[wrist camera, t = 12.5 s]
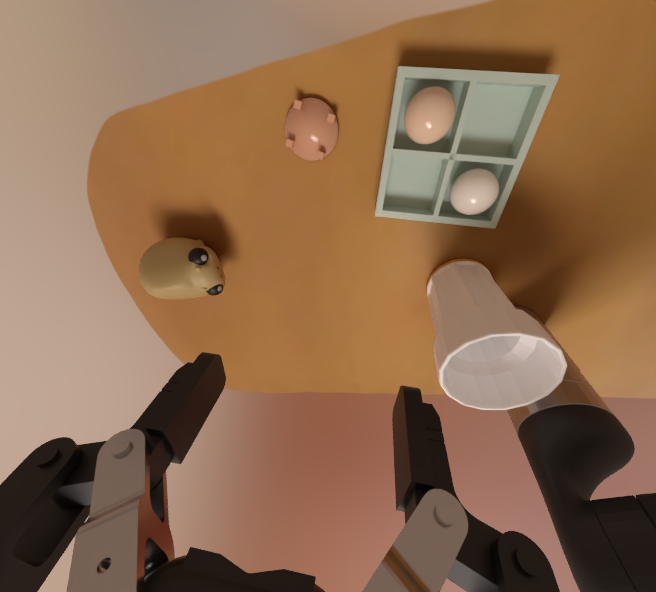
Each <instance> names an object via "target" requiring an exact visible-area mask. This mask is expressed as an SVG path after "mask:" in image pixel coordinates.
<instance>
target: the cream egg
mask: <svg viewBox="0 0 656 592" xmlns="http://www.w3.org/2000/svg"><path fill="white" fill-rule="evenodd" d="M498 193H499V182H498V180H497V178H496V176H495V175H494V174H493V173H492V172H490V171H489V170H486V169H482V168H475V169H470V170H468V171H466V172H464V173H462V174H461V175H460V176H459V177H458V178H457V179H456V180H455V181H454V183H453V185H452V187H451V190H450V201H451V204H452V206H453V207H454V208H455V209H456V210H457V211H458V212H460V213H462V214H466V215H475V214H479V213H482V212H484V211H485V210H487V209H488V208H489V207H491V206H492V204H493V203H494V202H495V200H496V199H497V196H498Z"/></svg>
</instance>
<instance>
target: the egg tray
mask: <svg viewBox="0 0 656 592" xmlns="http://www.w3.org/2000/svg"><path fill="white" fill-rule="evenodd" d="M559 76H560V75H553V74H535V73H516V72H498V71H480V70H461V69H443V68H425V67H407V66H398V68H397V72H396V78H395V85H394V91H393V97H392V104H391V110H390V117H389V123H388V129H387V136H386V142H385V149H384V155H383V162H382V168H381V174H380V181H379V187H378V194H377V200H376V207H375V216H380V217H389V218H398V219H408V220H417V221H426V222H436V223H445V224H454V225H464V226H473V227H482V228H492V229H495V228H496V226H497V224H498V221H499V219H500V216H501V214H502V212H503V209H504V207H505V205H506V202H507V200H508V197H509V195H510V193H511V190H512V188H513V185H514V183H515V181H516V178H517V176H518V174H519V171H520V169H521V166H522V164H523V162H524V159H525V157H526V154H527V152H528V150H529V147H530V145H531V143H532V140H533V138H534V135H535V133H536V131H537V128H538V126H539V123H540V121H541V119H542V116H543V114H544V112H545V109H546V107H547V104H548V102H549V100H550V97H551V95H552V92H553V90H554V88H555V85H556V83H557V81H558V78H559ZM431 86H439V87H442V88H445V89H446V90H448V91H449V92H450V93H451V95H452V96H453V99H454V101H455V106H456V113H455V119H454V122H453V124H452V126H451V128H450V130H449V131H448V132H447V133H446V135H445V136H444V137H442V138H441V139H440V140H438V141H436V142H434V143H431V144H419V143H416V142H414V141H413V140H411V139H410V137H409V136H408V135H407V133H406V130H405V127H404V114H405V111H406V108H407V106H408V103H409V102H410V100H411V99H412V98H413V96H414V95H415V94H417V93H418V92H419V91H421V90H422V89H424V88H427V87H431ZM475 168H482V169H486V170H489V171H490V172H492V173H493V174H494V175H495V176H496V178H497V180H498V182H499V193H498V196H497V199H496V200H495V202H494V203H493V204H492V206H491V207H489V208H488V209H487V210H485V211H484V212H482V213H479V214H475V215H466V214H462V213H460V212H458V211H457V210H456V209H455V208H454V207H453V206H452V204H451V201H450V190H451V187H452V185H453V183H454V181H455V180H456V179H457V178H458V177H459V176H460V175H461V174H462V173H464V172H466V171H468V170H470V169H475Z"/></svg>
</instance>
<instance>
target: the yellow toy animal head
mask: <svg viewBox="0 0 656 592" xmlns="http://www.w3.org/2000/svg"><path fill="white" fill-rule="evenodd" d="M139 277H140V280H141V283H142V285H143V287H144V289H145V290H146V291H147V292H148V293H149V294H150V295H152V296H154V297H157V298H161V299H187V298H196V297H201V296H205V295H207V294H210V295H218V294H220V293H221V292H222V290H223V287H224V284H225V276H224V273H223V270H222V267H221V264H220V262H219V259H218V257H217V255H216V254H215V252H214V251H213V250H212V249H210V248H209V247H207V246H204V242H203V241H202V240H200V239H198V240H193V239H188V238H179V237H176V238H168V239H164V240H162V241H159V242H157V243H155V244H154V245H152V246H151V247H150V248H149V249H148V250H147V251H146V252H145V253H144V255H143V256H142V258H141V261H140V264H139Z"/></svg>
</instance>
